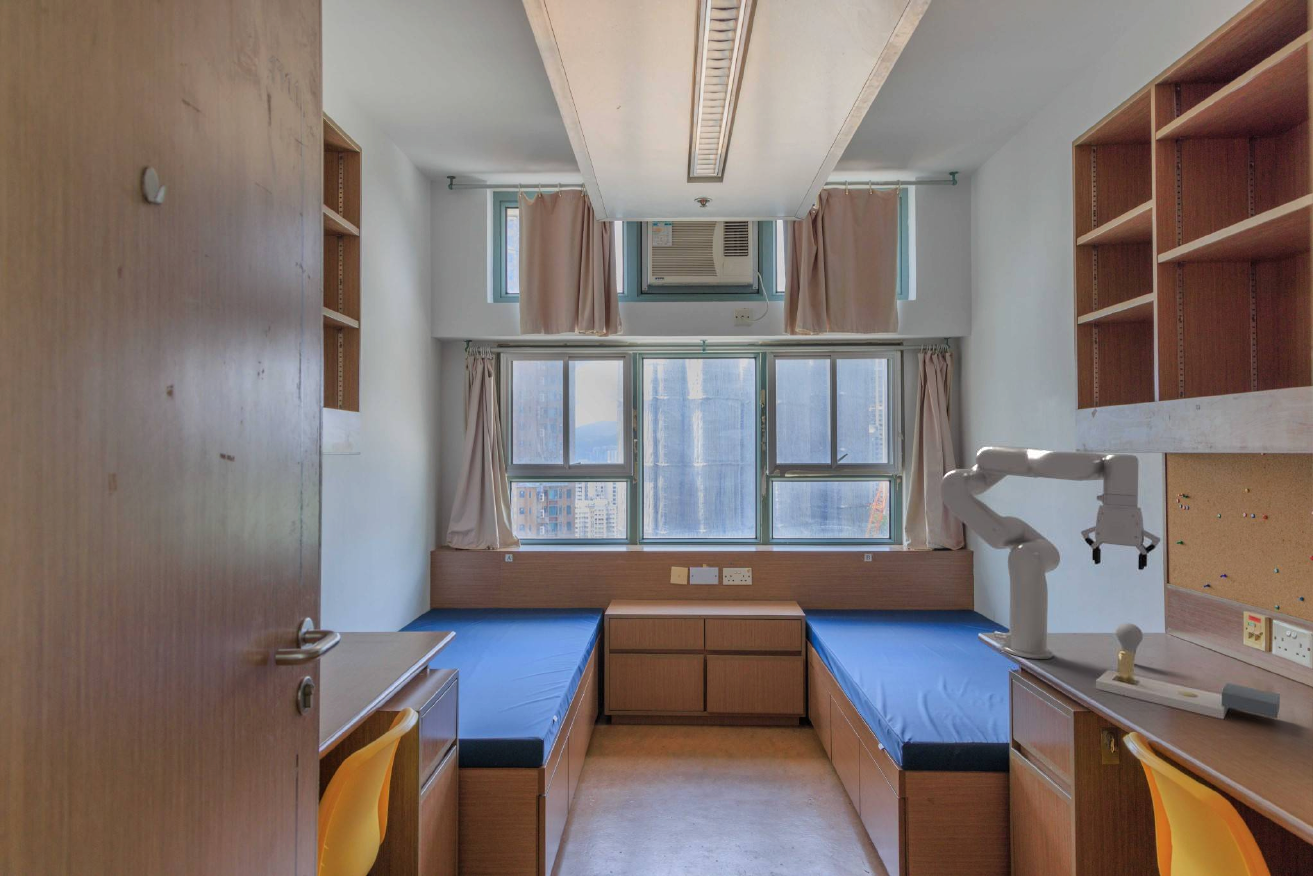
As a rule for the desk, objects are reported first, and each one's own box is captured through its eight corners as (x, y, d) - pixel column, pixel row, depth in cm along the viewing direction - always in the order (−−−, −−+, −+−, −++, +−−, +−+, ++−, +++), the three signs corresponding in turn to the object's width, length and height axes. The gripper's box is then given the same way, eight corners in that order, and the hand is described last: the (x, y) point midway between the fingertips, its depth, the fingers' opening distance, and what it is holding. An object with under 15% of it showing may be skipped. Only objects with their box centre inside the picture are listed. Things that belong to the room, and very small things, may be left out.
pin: (1116, 688, 165) (1117, 651, 165) (1119, 685, 167) (1120, 649, 167) (1132, 691, 163) (1132, 654, 163) (1134, 688, 165) (1135, 652, 165)
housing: (1221, 705, 149) (1221, 692, 149) (1226, 695, 155) (1226, 682, 155) (1276, 718, 142) (1277, 704, 142) (1279, 707, 148) (1279, 694, 148)
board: (1095, 688, 164) (1096, 680, 164) (1107, 677, 173) (1107, 669, 173) (1223, 719, 147) (1223, 709, 147) (1229, 705, 156) (1229, 696, 156)
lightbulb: (1116, 664, 184) (1117, 624, 184) (1113, 658, 189) (1114, 619, 189) (1144, 668, 181) (1144, 627, 181) (1140, 662, 186) (1140, 622, 187)
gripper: (1078, 499, 179) (1077, 563, 179) (1158, 504, 167) (1156, 573, 167) (1085, 498, 185) (1084, 560, 185) (1163, 503, 172) (1162, 569, 172)
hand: (1118, 566), depth 176 cm, fingers open, 9 cm apart
